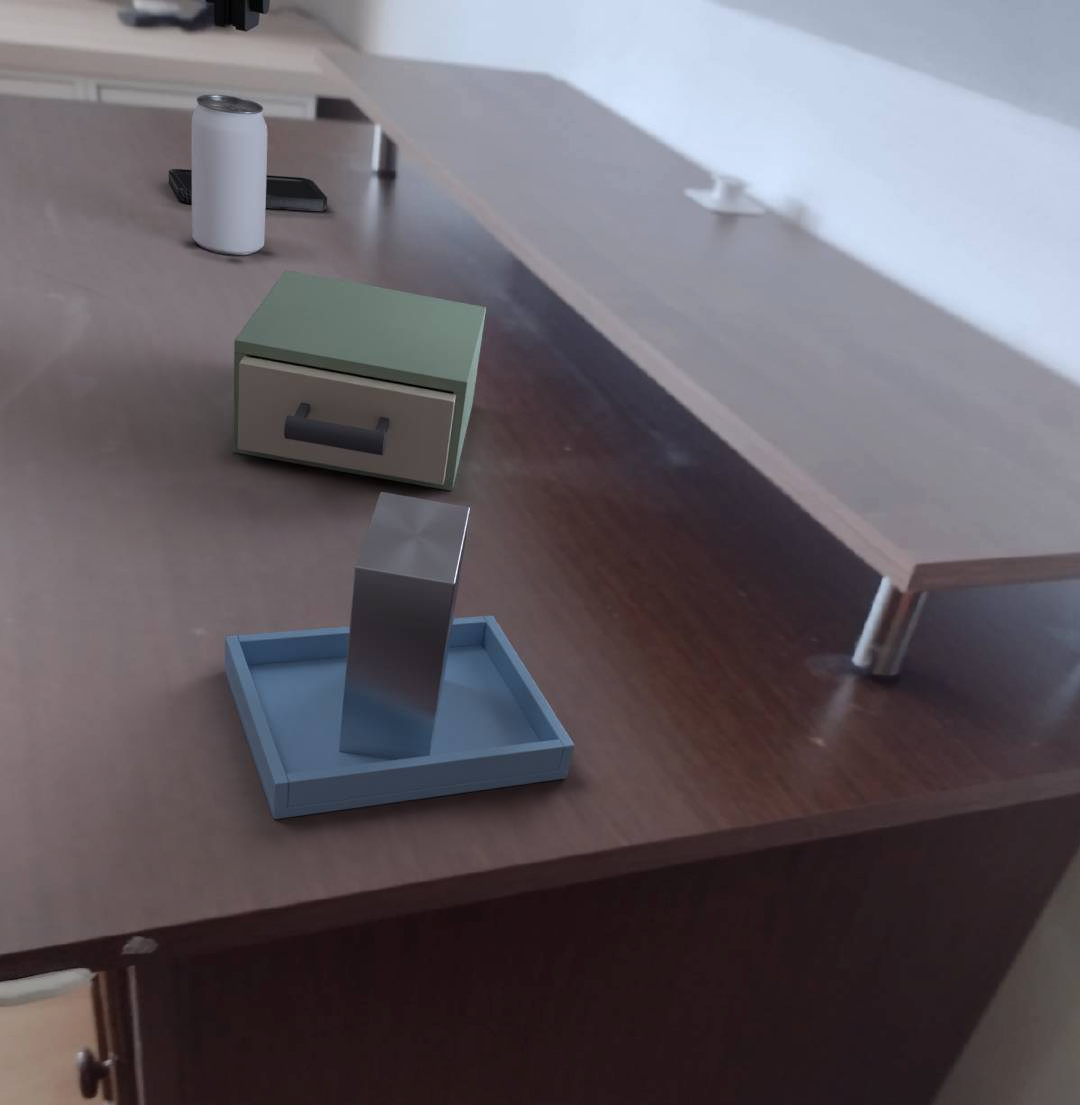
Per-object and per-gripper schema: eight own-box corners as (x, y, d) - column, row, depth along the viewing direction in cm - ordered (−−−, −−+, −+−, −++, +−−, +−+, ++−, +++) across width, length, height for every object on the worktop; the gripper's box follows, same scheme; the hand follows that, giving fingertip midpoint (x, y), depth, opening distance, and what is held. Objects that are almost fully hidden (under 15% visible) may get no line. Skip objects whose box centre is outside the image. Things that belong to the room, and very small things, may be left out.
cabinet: (452, 491, 79) (467, 382, 75) (232, 452, 78) (234, 339, 74) (472, 405, 91) (486, 306, 86) (280, 371, 90) (285, 269, 85)
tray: (273, 820, 52) (275, 783, 51) (224, 670, 60) (224, 635, 58) (567, 778, 58) (575, 745, 56) (487, 646, 65) (492, 614, 64)
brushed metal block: (338, 751, 55) (354, 566, 49) (362, 666, 61) (380, 491, 55) (428, 766, 56) (455, 583, 50) (444, 679, 61) (470, 506, 55)
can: (222, 228, 114) (223, 90, 107) (278, 248, 112) (283, 109, 105) (177, 241, 109) (175, 97, 102) (235, 261, 107) (237, 116, 100)
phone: (166, 168, 122) (310, 177, 128) (166, 179, 123) (310, 188, 129) (180, 191, 117) (330, 200, 123) (180, 203, 117) (329, 211, 123)
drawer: (436, 513, 75) (447, 426, 71) (221, 475, 74) (222, 386, 70) (463, 404, 88) (473, 328, 85) (282, 372, 88) (286, 293, 84)
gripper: (33, -522, 47) (65, 5, 58) (406, -437, 48) (368, 65, 59) (97, -483, 53) (115, -12, 64) (428, -408, 54) (390, 43, 65)
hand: (237, 24), depth 62 cm, fingers closed
